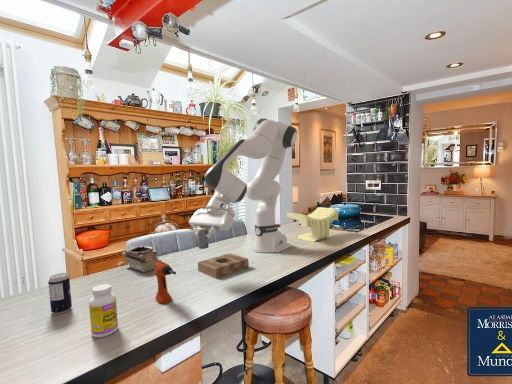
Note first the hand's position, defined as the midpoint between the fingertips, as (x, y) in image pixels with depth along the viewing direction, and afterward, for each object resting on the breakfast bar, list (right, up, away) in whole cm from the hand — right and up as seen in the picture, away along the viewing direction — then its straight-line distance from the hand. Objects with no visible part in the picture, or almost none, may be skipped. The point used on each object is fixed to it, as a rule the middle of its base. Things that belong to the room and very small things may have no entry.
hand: (201, 236), depth 112 cm
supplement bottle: (-21, -22, -33) cm, 45 cm away
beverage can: (-43, -22, -19) cm, 52 cm away
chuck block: (+7, -17, +15) cm, 24 cm away
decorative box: (-35, -19, +21) cm, 45 cm away
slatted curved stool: (+58, -12, +65) cm, 88 cm away
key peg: (+1, -5, +1) cm, 5 cm away
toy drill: (-8, -20, -18) cm, 28 cm away
